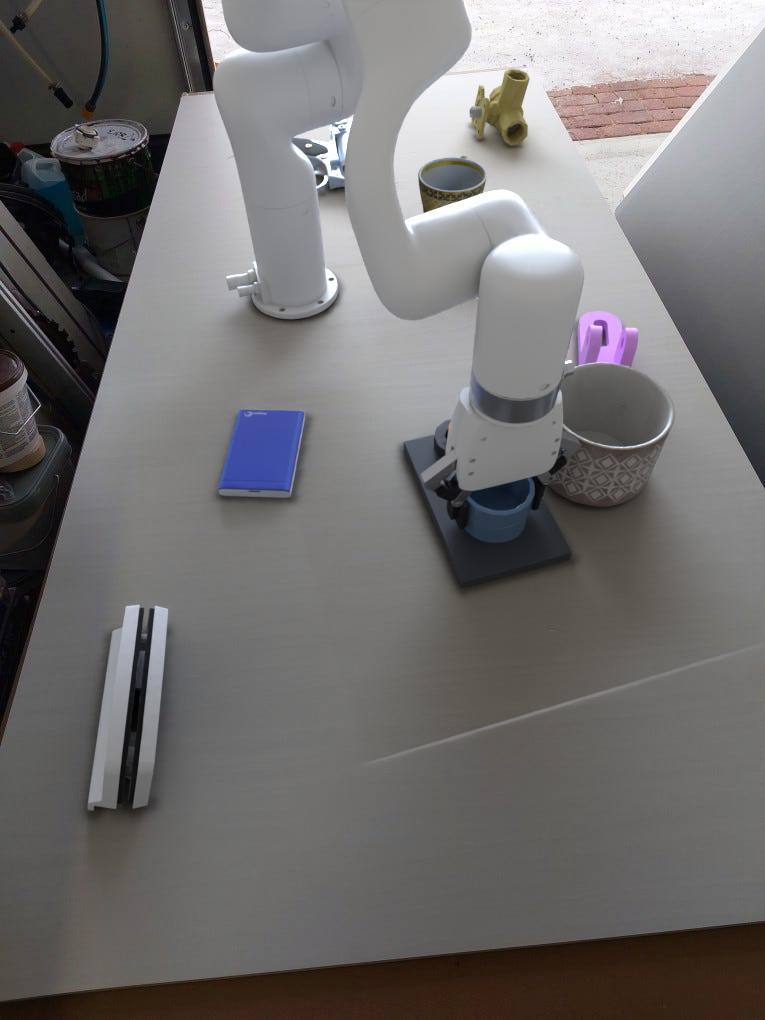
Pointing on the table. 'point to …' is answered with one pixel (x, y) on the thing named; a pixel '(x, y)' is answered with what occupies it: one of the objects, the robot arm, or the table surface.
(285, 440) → the hard drive
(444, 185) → the ceramic cup
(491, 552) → the scale
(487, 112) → the ball valve
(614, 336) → the bracket
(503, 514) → the blue cup
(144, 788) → the white slotted block
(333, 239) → the table surface
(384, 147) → the robot arm
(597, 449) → the planter
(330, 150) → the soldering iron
